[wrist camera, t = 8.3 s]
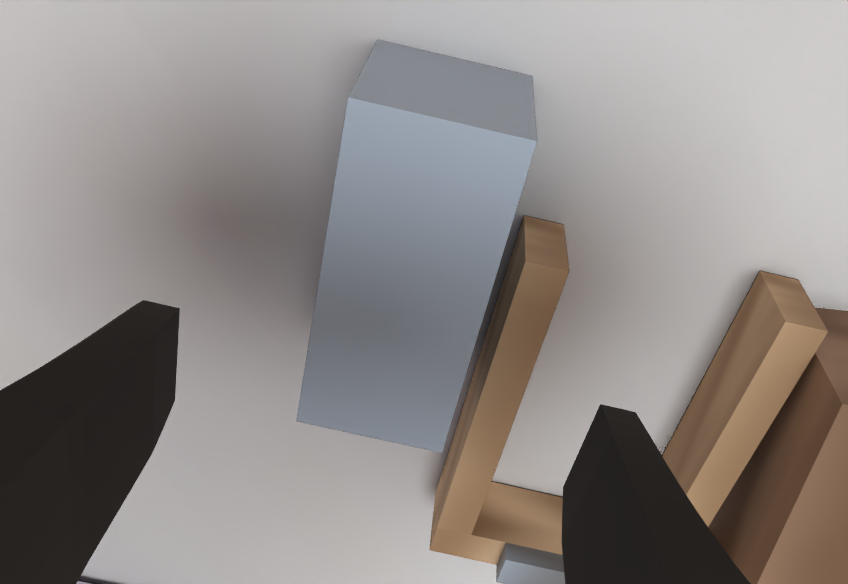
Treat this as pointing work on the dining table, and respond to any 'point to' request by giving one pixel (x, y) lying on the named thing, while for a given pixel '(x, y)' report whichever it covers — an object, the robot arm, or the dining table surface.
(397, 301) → the slate stick
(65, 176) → the dining table surface
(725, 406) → the rack
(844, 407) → the walnut block
